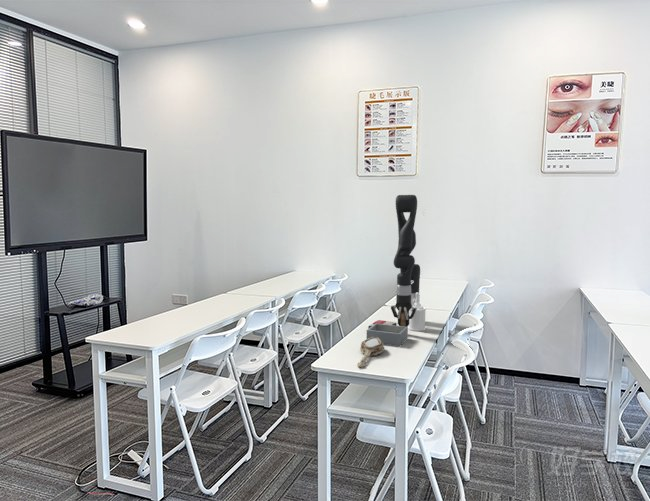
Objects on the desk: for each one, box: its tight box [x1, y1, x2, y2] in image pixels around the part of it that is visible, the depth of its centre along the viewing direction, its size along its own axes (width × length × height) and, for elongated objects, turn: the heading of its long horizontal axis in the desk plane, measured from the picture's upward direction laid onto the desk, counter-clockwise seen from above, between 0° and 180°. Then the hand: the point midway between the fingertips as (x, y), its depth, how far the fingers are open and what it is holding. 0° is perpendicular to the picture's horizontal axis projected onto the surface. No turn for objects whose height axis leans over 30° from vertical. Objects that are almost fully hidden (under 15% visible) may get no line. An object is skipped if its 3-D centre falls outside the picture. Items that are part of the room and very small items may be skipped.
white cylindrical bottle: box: [408, 292, 427, 332], centre depth 261 cm, size 10×9×20 cm
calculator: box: [367, 319, 398, 330], centre depth 260 cm, size 11×4×15 cm
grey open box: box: [366, 323, 409, 347], centre depth 241 cm, size 14×17×6 cm
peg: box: [400, 312, 406, 327], centre depth 251 cm, size 3×3×10 cm
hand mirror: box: [356, 337, 385, 368], centre depth 216 cm, size 11×6×30 cm
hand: (403, 325), depth 251 cm, fingers closed on peg, 3 cm apart
